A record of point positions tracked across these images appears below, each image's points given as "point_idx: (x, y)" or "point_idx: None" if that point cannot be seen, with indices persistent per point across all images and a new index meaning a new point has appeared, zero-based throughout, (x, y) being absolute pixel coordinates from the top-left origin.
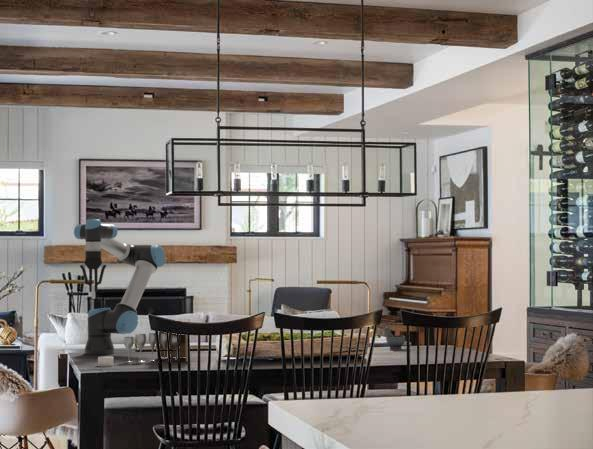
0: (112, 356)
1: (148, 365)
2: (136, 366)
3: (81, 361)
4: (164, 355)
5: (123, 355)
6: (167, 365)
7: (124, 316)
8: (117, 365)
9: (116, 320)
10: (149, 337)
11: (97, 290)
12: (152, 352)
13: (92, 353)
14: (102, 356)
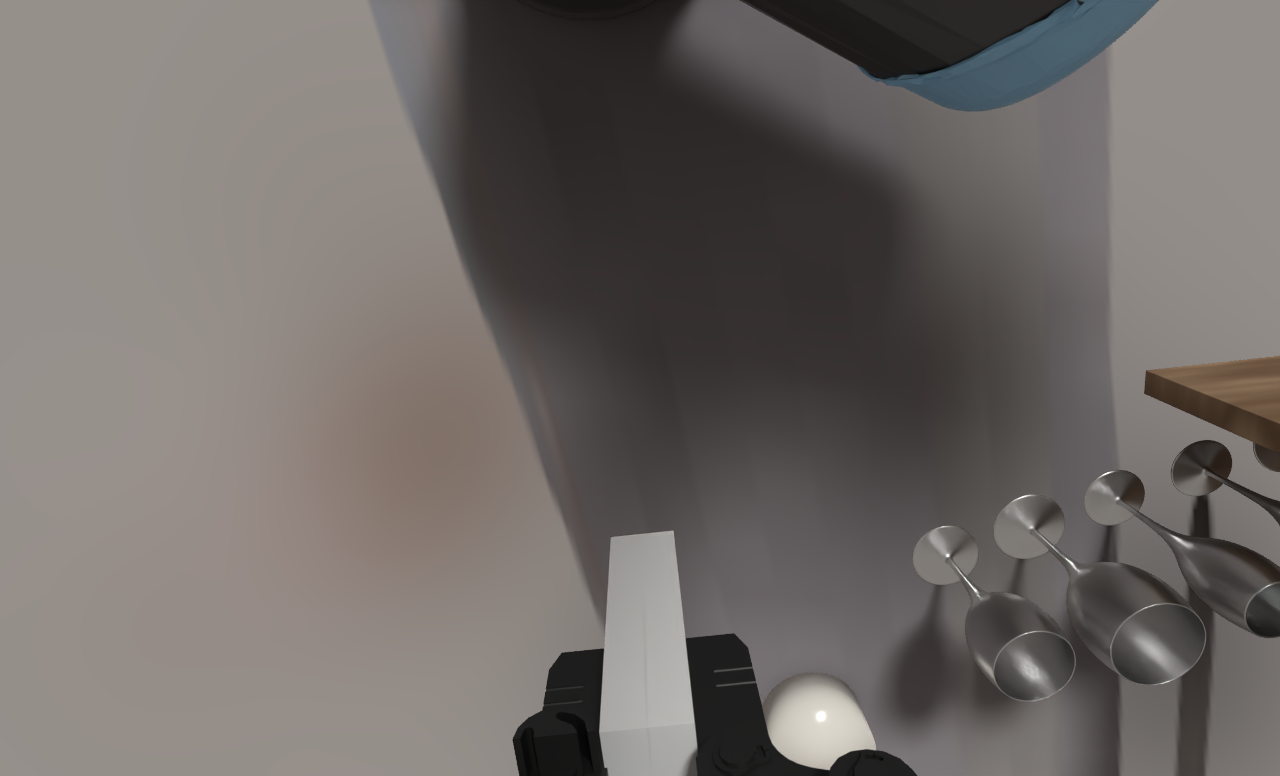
0: (865, 726)
1: (1086, 723)
2: (1012, 764)
3: (588, 494)
4: (1229, 486)
5: (849, 73)
6: (1207, 728)
7: (1046, 80)
8: (886, 715)
9: (895, 62)
10: (1218, 613)
11: (749, 655)
12: (1153, 529)
13: (551, 12)
14: (793, 723)
